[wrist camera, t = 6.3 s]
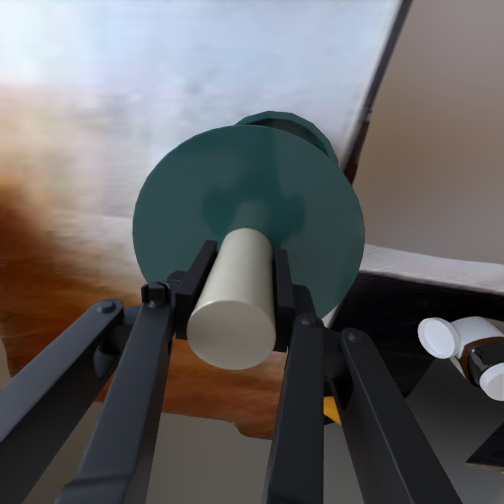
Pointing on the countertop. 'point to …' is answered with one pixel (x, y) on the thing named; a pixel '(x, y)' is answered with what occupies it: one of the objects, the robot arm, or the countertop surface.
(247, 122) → the pot
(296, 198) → the lid
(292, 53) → the countertop surface
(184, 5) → the countertop surface
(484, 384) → the spread jar
